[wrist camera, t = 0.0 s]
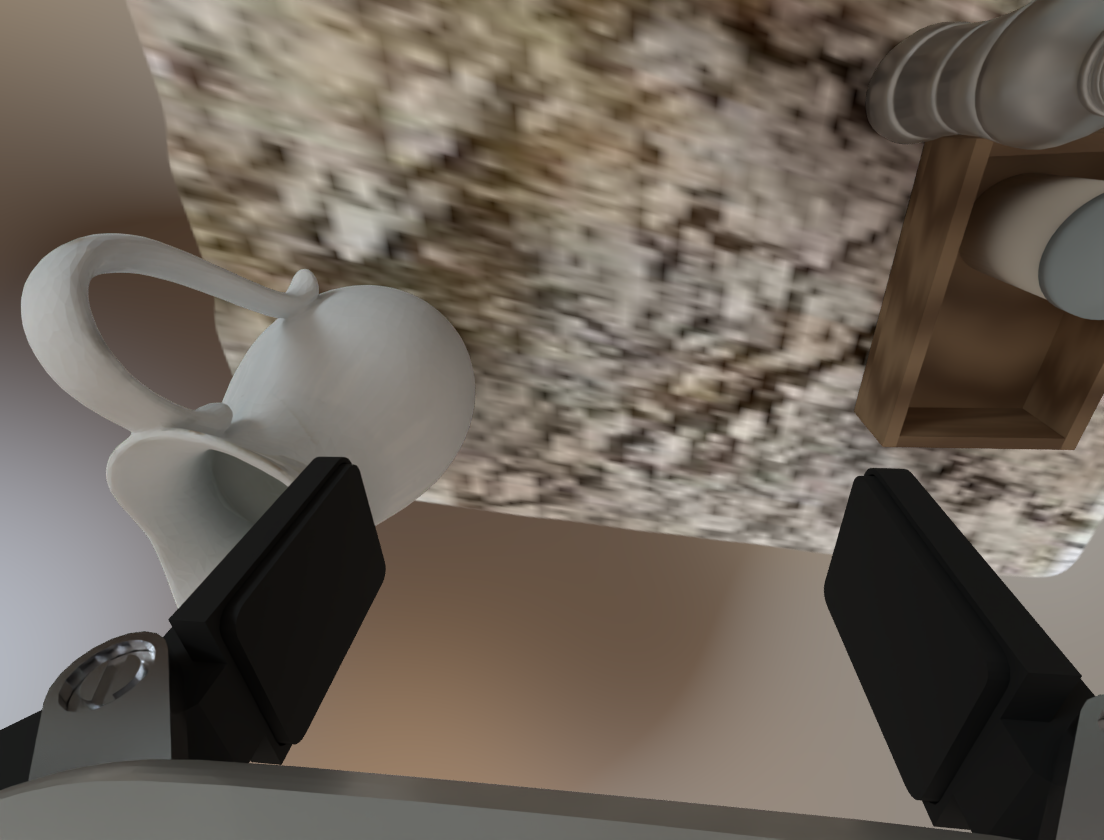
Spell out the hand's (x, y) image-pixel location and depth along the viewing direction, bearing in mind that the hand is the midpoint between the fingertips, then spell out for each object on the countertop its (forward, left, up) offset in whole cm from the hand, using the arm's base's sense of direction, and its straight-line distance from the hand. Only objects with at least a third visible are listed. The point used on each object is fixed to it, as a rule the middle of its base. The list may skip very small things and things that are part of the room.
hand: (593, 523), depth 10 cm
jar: (+1, +29, -36) cm, 46 cm away
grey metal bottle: (-8, +20, -37) cm, 43 cm away
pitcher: (+8, -20, -37) cm, 43 cm away
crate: (+6, +29, -37) cm, 47 cm away
